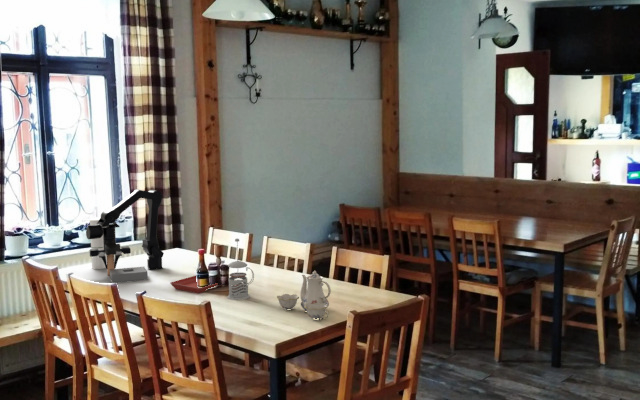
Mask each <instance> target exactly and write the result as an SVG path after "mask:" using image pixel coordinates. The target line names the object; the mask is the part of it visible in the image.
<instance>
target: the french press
mask: <svg viewBox="0 0 640 400" xmlns="http://www.w3.org/2000/svg"><path fill="white" fill-rule="evenodd" d="M234 242H236V253H237V257H236V260H235V261H231V262H230V263H229V264H228V265H227V267H228V268H230V269H242V268H245V271H246V272H248V269H249V270H250V271H251V274H252V275H251V276H252V277H251V280H250V281H248V277H247V273H246V272H238V271H237V272H232V273H229V277H228V295H227V296H226V299H228V300H231V301H241V300H242V299H243V300H247V299H250V298H251V295H250V294H249V285H251V284H252V283H253V282H254V278H255V273H254V271H253V270H252V269H251V268H250V267H248V264H247V262H244V261H240V260H239V254H238V250H239V249H238V246H239V245H238V244H239V243H238V242H240V238H235V239H234Z"/></svg>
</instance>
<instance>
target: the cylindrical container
mask: <svg viewBox="0 0 640 400" xmlns="http://www.w3.org/2000/svg"><path fill="white" fill-rule="evenodd" d="M100 218H101V217H94V218H90V219H89V225H97V222H98V221H99V219H100ZM90 249H98V250H104V244H103V236H102V237H101V238H97V239H90ZM105 257H106V262H107V255H106V254H105ZM91 267H92V268H91V269H93V270H101V269H106V267H105V264H104V262H103V260H102V258H99V256H93V257H91Z"/></svg>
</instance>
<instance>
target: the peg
mask: <svg viewBox="0 0 640 400" xmlns="http://www.w3.org/2000/svg"><path fill="white" fill-rule="evenodd" d="M106 258H107V269H106V272H107V277H110V269H116V268H114V259H115V255H113V254H111V255H106Z"/></svg>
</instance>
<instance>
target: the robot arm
mask: <svg viewBox="0 0 640 400" xmlns="http://www.w3.org/2000/svg"><path fill="white" fill-rule="evenodd" d="M140 199H146V203H147V205H148V218H147V231H146V237H145V238H143V239H142V245H141V247H142V249H143V251H144V252H145V253H146V255H147V256H148V259H147V268H148V269H149V270H150V271H152V270H162V269H163V260H162V259H163V257H164V252H163V251H162V250H161V249H160V245H159V240H158V237H157V235H158V217H159V208H160V206H161V204H162V200H163V194H162V192H161V191H159V190H155V189H150V190H148V191H147V190H143V189H142V190H141V189H134V190H133V192H131V193H130V194H129V195H127V196H126V197H125V198H124V199H122V200H121V201H120V202H119V203H117V204H116V205H114V206H112V207H110V208H109V207H108V209H105V210H104V211H103V212H101V214H100V217H99V218H100V219H99V221H98V222H97V225H90V224H88V225H87V226H86V231H85V236H86V239H87V240H91V239H97V238H101V237H102V236H103V244H104V250H98V249H91V248H90V249H89V251H88V252H89V257H91V258H92V257H93V256H99V258H102V260H103V262H104V264H105V267H106V268H105V269H106V270H107V262H106V258H107V255H111V254H113V255H114V268H115V269H117V268H116V267H117V264H118V260H119V258H120V257H122V256H123V254H124V255H127V254H128V255H129V254H131V253H132V252H131V248H130V246H128V245H126V246H125V245H123V246H121V244H120V243H117V239H116V228H120V225H118V223H117V222H116V221H117V220H118V219H119V218H120V217H121V214H122V213H123V212H124V211H126V210H127V209H129V208H130V207H131V206H132V205H134V203H136V202H137V201H139V200H140ZM105 254H106V257H105Z"/></svg>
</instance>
